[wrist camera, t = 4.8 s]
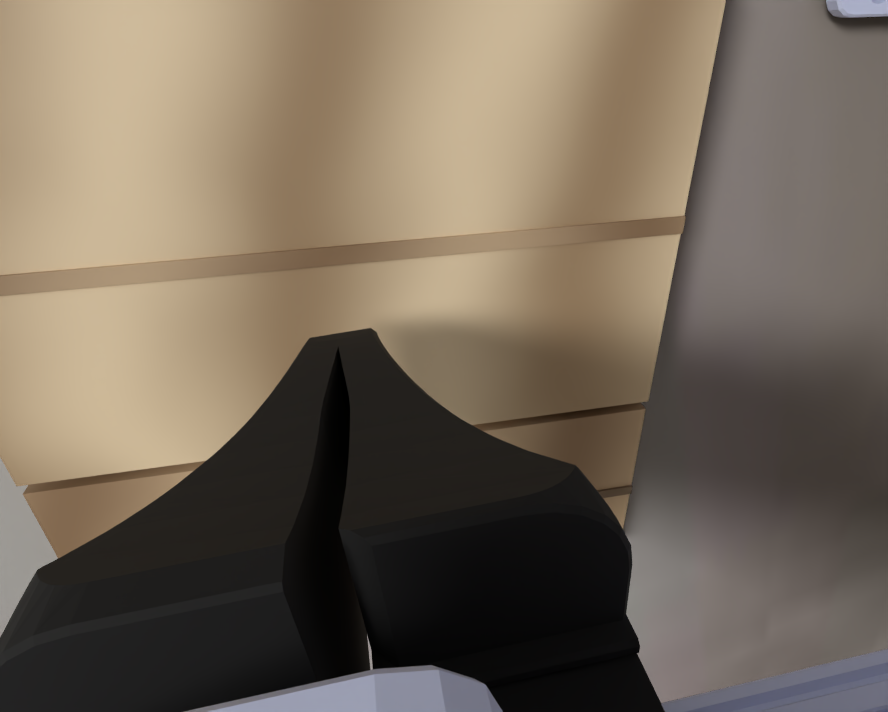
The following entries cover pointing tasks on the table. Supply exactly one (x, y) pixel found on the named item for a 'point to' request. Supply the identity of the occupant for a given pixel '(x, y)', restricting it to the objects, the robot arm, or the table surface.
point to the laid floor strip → (556, 435)
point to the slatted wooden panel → (331, 207)
